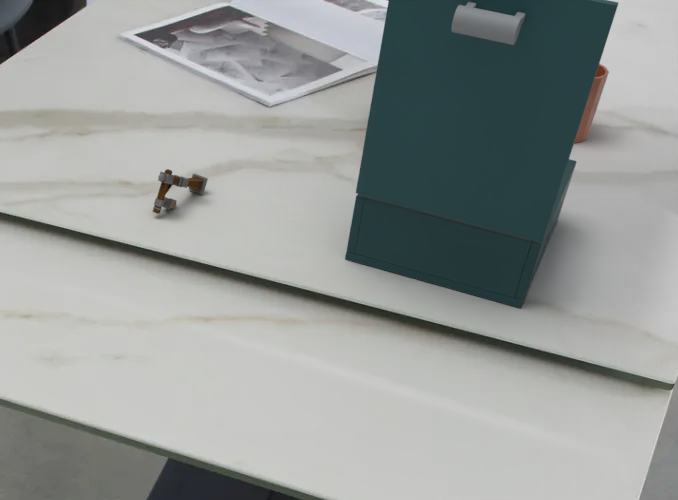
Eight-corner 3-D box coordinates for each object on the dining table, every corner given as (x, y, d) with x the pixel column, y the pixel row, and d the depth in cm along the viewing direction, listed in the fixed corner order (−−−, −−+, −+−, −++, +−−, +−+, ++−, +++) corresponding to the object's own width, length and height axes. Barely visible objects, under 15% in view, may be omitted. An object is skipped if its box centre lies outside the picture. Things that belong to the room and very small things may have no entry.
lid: (397, -41, 84) (379, -24, 81) (618, 2, 79) (609, 23, 76) (358, 189, 98) (340, 213, 95) (543, 238, 94) (532, 265, 90)
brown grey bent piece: (143, 209, 106) (155, 165, 104) (183, 212, 113) (194, 171, 111) (157, 215, 105) (169, 171, 104) (196, 217, 112) (208, 176, 111)
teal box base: (400, 180, 117) (412, 121, 112) (557, 220, 112) (576, 160, 107) (344, 259, 103) (355, 196, 98) (521, 308, 98) (541, 244, 94)
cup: (591, 127, 131) (612, 64, 126) (583, 147, 126) (604, 83, 121) (538, 115, 133) (556, 52, 127) (528, 134, 128) (546, 70, 123)
